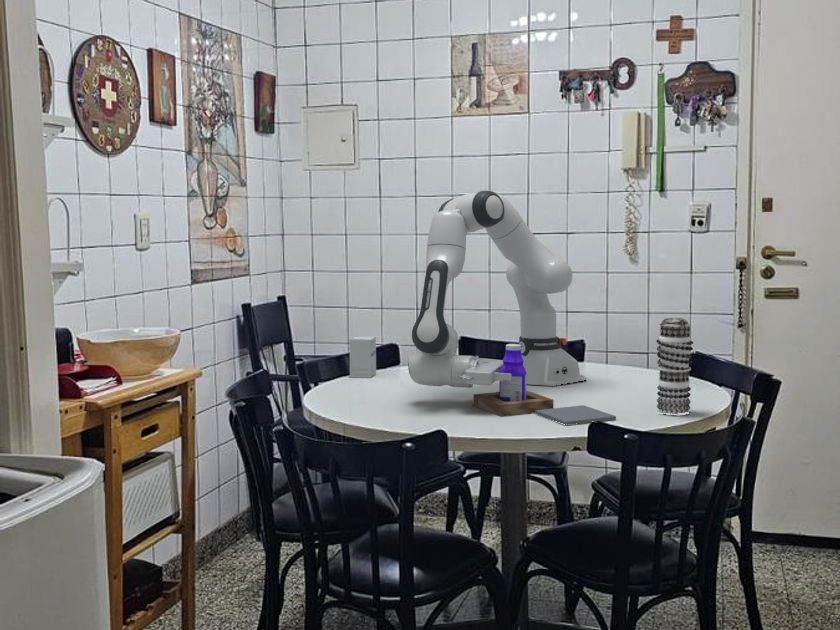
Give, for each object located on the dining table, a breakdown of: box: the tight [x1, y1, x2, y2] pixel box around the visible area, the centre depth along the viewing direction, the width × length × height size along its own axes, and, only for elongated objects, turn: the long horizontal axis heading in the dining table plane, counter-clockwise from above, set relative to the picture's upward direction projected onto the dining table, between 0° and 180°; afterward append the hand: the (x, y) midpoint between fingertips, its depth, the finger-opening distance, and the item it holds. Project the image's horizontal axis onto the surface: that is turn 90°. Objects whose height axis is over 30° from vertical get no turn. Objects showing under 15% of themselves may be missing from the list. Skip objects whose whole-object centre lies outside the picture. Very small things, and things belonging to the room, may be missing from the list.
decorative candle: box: [656, 317, 694, 414], centre depth 248 cm, size 9×9×25 cm
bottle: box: [498, 343, 527, 402], centre depth 256 cm, size 7×6×17 cm
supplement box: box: [348, 336, 377, 379], centre depth 308 cm, size 7×7×13 cm
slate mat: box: [534, 404, 617, 426], centre depth 245 cm, size 15×15×1 cm
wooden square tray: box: [472, 389, 555, 417], centre depth 257 cm, size 16×16×3 cm
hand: (515, 373), depth 256 cm, fingers open, 8 cm apart
